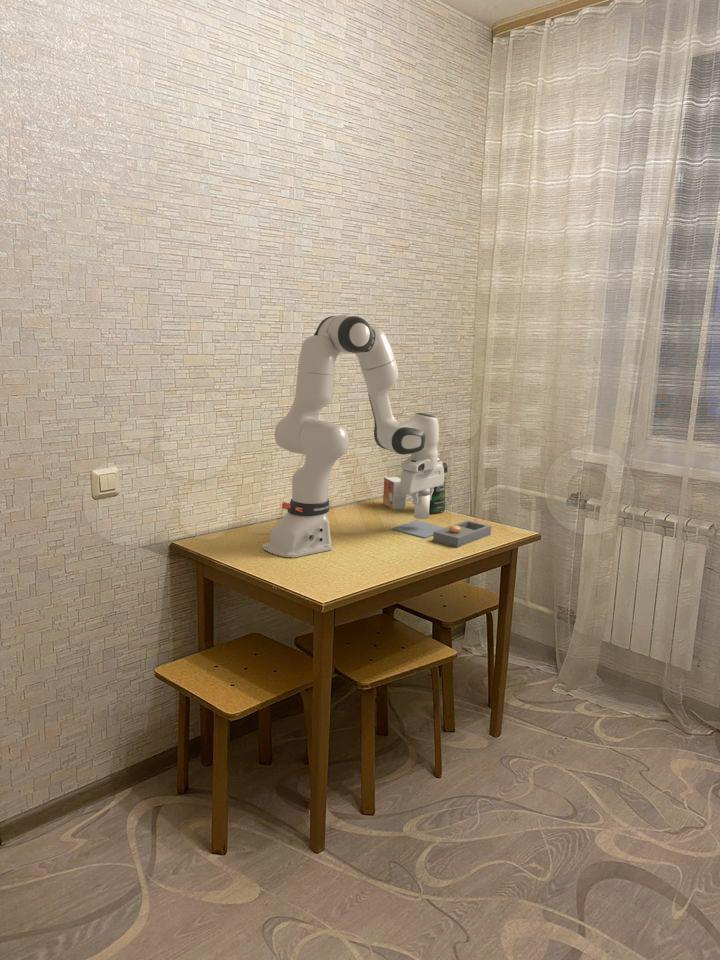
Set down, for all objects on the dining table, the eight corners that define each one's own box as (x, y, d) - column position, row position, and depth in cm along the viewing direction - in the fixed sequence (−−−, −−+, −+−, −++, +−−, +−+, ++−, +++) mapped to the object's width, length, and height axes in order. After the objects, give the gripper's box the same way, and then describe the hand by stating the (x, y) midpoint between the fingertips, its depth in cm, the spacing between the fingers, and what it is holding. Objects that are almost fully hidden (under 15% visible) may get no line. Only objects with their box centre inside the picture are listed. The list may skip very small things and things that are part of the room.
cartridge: (422, 519, 246) (424, 490, 244) (410, 516, 249) (412, 488, 247) (431, 517, 250) (433, 488, 248) (419, 514, 253) (421, 485, 251)
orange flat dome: (456, 533, 236) (456, 529, 236) (446, 531, 239) (447, 526, 238) (462, 531, 239) (462, 527, 239) (453, 528, 241) (453, 524, 241)
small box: (382, 504, 281) (383, 477, 279) (395, 503, 284) (396, 476, 281) (392, 509, 274) (393, 482, 272) (405, 508, 277) (407, 481, 274)
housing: (457, 547, 233) (458, 538, 232) (433, 540, 239) (433, 531, 238) (490, 534, 247) (491, 526, 247) (466, 528, 253) (467, 520, 253)
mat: (424, 538, 241) (424, 537, 241) (391, 529, 250) (391, 528, 250) (449, 529, 251) (449, 528, 251) (416, 521, 260) (416, 520, 260)
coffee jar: (431, 515, 268) (433, 465, 263) (415, 511, 273) (417, 461, 269) (449, 511, 274) (452, 462, 270) (433, 507, 280) (435, 458, 276)
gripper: (434, 456, 255) (432, 495, 258) (397, 464, 240) (396, 505, 243) (449, 459, 251) (447, 498, 254) (413, 467, 236) (411, 509, 239)
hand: (422, 502), depth 248 cm, fingers closed on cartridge, 5 cm apart
